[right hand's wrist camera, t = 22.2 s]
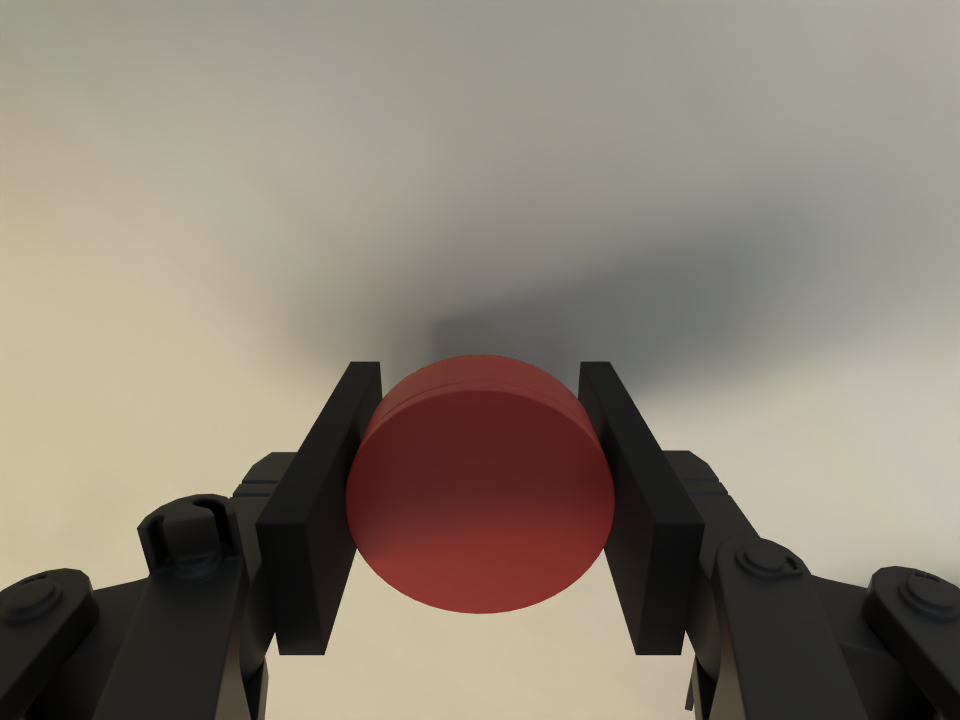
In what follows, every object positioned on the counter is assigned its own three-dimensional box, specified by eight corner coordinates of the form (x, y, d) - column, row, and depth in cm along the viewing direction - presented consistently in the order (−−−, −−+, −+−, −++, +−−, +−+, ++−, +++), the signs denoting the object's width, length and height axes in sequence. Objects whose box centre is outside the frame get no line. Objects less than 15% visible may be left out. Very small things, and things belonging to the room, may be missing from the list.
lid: (625, 518, 13) (646, 573, 11) (418, 581, 13) (410, 641, 12) (555, 317, 11) (568, 348, 9) (321, 402, 12) (294, 444, 10)
